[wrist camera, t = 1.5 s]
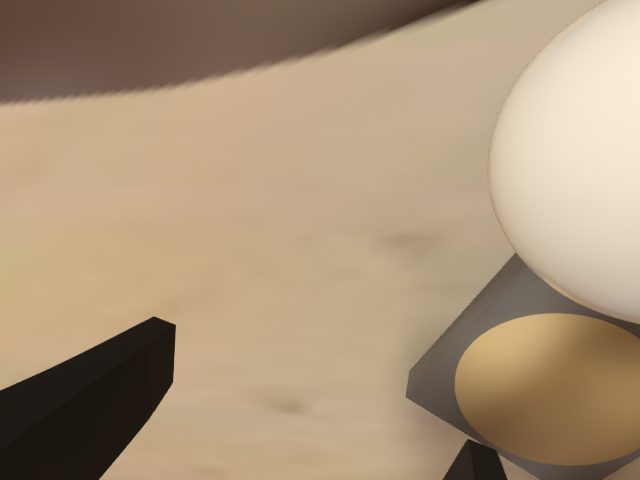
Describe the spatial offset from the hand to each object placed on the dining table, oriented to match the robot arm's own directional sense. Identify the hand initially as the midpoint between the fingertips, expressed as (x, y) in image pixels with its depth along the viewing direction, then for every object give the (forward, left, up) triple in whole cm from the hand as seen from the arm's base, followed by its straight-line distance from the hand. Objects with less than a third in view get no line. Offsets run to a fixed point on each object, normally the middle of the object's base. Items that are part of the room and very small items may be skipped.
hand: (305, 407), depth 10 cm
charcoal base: (-10, +1, -10) cm, 14 cm away
